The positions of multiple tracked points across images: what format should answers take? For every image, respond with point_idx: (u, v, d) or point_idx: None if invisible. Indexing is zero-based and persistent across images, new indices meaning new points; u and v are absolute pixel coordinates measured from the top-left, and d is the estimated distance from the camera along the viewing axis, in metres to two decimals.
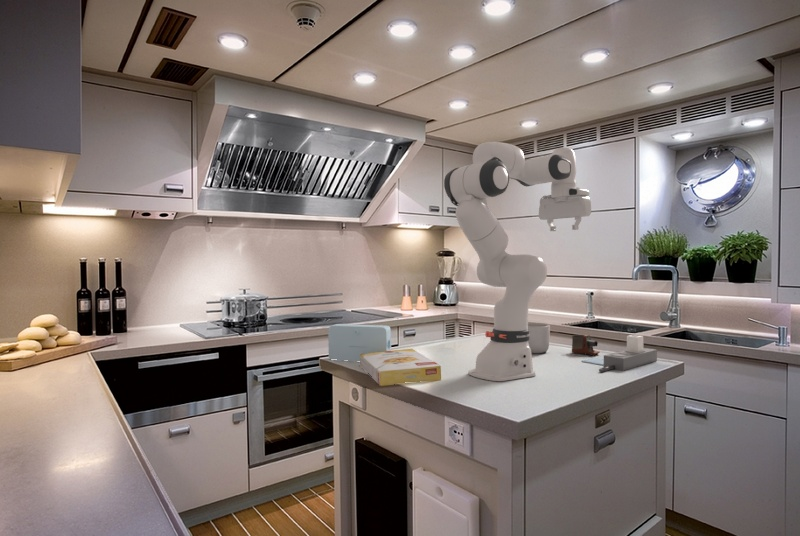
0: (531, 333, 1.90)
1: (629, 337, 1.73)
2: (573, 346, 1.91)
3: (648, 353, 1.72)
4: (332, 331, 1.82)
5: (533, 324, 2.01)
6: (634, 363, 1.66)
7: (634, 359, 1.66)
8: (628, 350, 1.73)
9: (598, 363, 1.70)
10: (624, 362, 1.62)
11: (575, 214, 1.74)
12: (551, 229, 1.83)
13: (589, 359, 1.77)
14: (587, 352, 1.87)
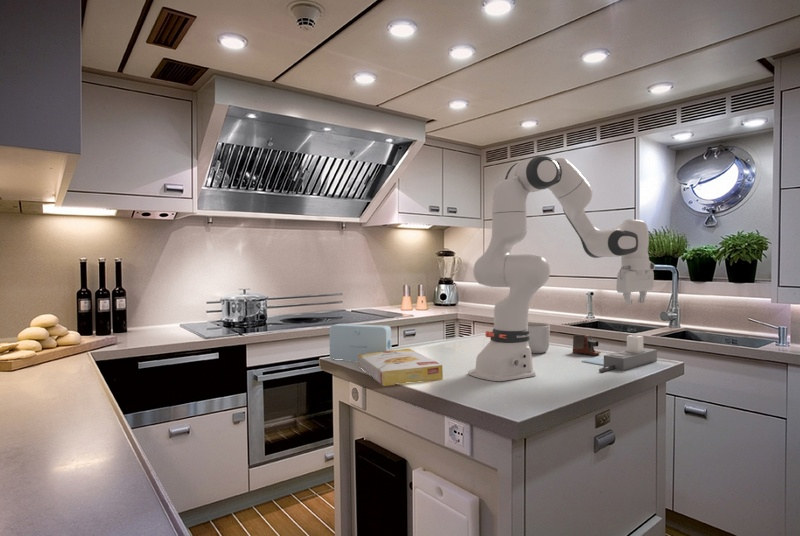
0: (531, 333, 1.90)
1: (629, 337, 1.73)
2: (574, 346, 1.91)
3: (648, 353, 1.72)
4: (333, 330, 1.83)
5: (533, 324, 2.01)
6: (634, 363, 1.66)
7: (634, 359, 1.66)
8: (628, 350, 1.73)
9: (598, 363, 1.70)
10: (624, 362, 1.62)
11: (648, 288, 1.75)
12: (631, 303, 1.69)
13: (589, 359, 1.77)
14: (588, 352, 1.86)
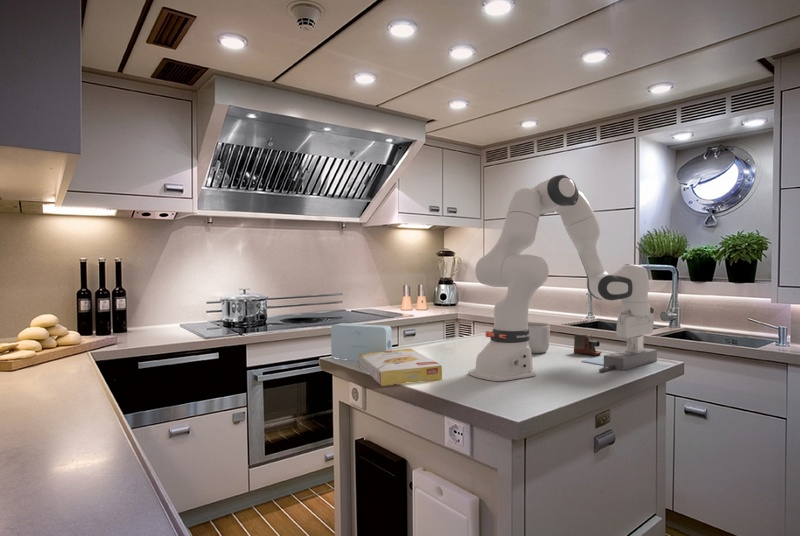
0: (531, 333, 1.90)
1: None
2: (575, 346, 1.91)
3: (648, 353, 1.72)
4: (335, 330, 1.84)
5: (533, 324, 2.01)
6: (634, 363, 1.66)
7: (634, 359, 1.66)
8: (628, 350, 1.73)
9: (598, 363, 1.70)
10: (624, 362, 1.62)
11: (648, 332, 1.75)
12: (633, 347, 1.71)
13: (589, 359, 1.77)
14: (589, 352, 1.86)
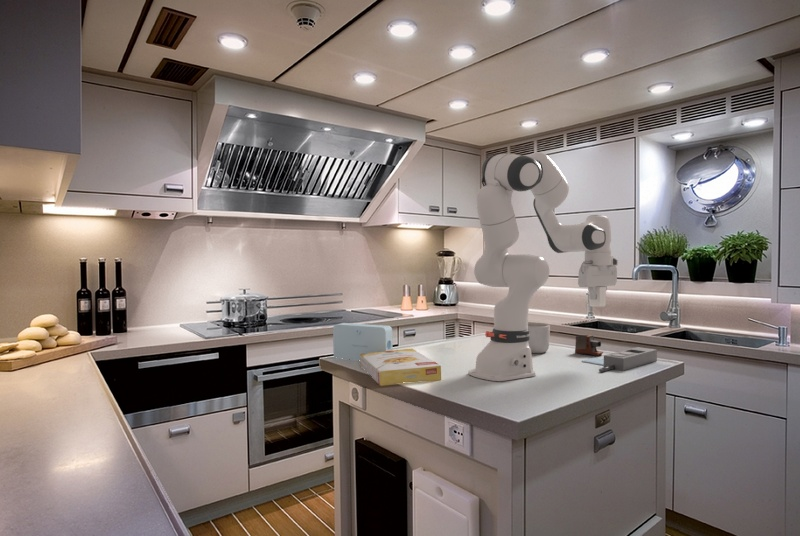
0: (531, 333, 1.90)
1: None
2: (576, 346, 1.90)
3: (648, 353, 1.72)
4: (337, 330, 1.85)
5: (533, 324, 2.01)
6: (634, 363, 1.66)
7: (634, 359, 1.66)
8: (590, 301, 1.74)
9: (598, 363, 1.70)
10: (624, 362, 1.62)
11: (611, 283, 1.76)
12: (595, 297, 1.72)
13: (589, 359, 1.77)
14: (590, 352, 1.86)
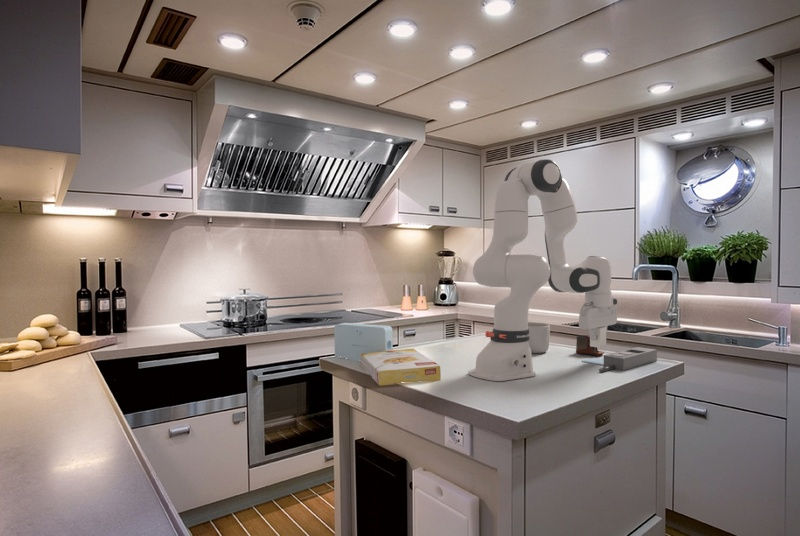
0: (531, 333, 1.90)
1: None
2: (577, 346, 1.90)
3: (648, 353, 1.72)
4: (338, 329, 1.86)
5: (533, 324, 2.01)
6: (634, 363, 1.66)
7: (634, 359, 1.66)
8: (591, 341, 1.75)
9: (598, 363, 1.70)
10: (624, 362, 1.62)
11: (611, 323, 1.77)
12: (596, 338, 1.72)
13: (589, 359, 1.77)
14: (591, 353, 1.85)
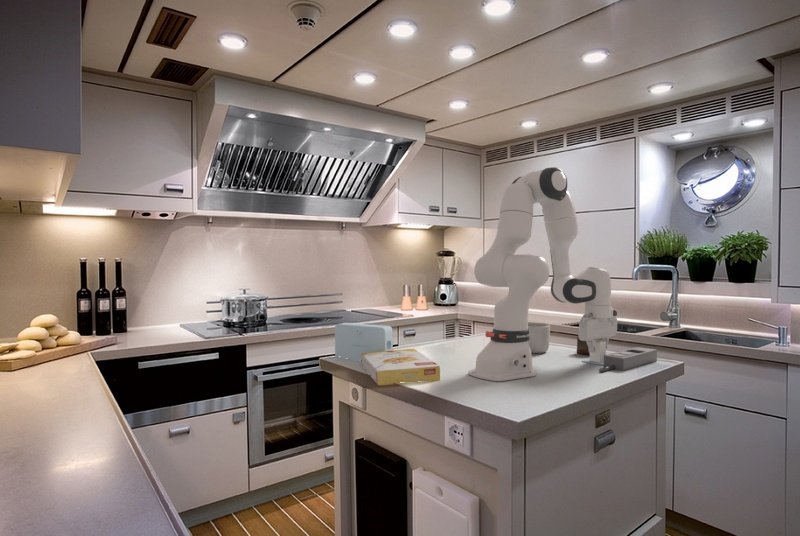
0: (531, 333, 1.90)
1: None
2: (578, 347, 1.90)
3: (648, 353, 1.72)
4: (338, 329, 1.86)
5: (533, 324, 2.01)
6: (634, 363, 1.66)
7: (634, 359, 1.66)
8: (591, 355, 1.75)
9: (598, 363, 1.70)
10: (624, 362, 1.62)
11: (611, 334, 1.77)
12: (594, 350, 1.71)
13: (589, 359, 1.77)
14: None
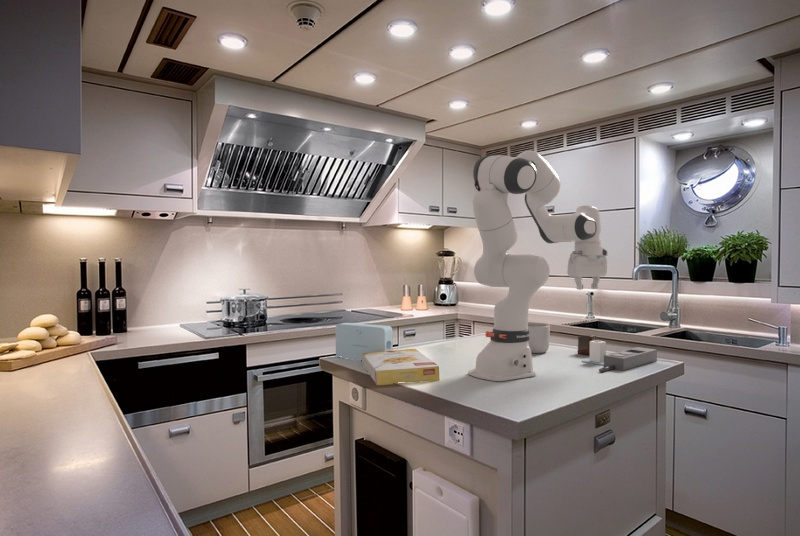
0: (531, 333, 1.90)
1: (592, 342, 1.74)
2: (579, 347, 1.89)
3: (648, 353, 1.72)
4: (339, 329, 1.86)
5: (533, 324, 2.01)
6: (634, 363, 1.66)
7: (634, 359, 1.66)
8: (591, 355, 1.75)
9: (598, 363, 1.70)
10: (624, 362, 1.62)
11: (600, 274, 1.78)
12: (582, 287, 1.73)
13: (589, 359, 1.77)
14: None
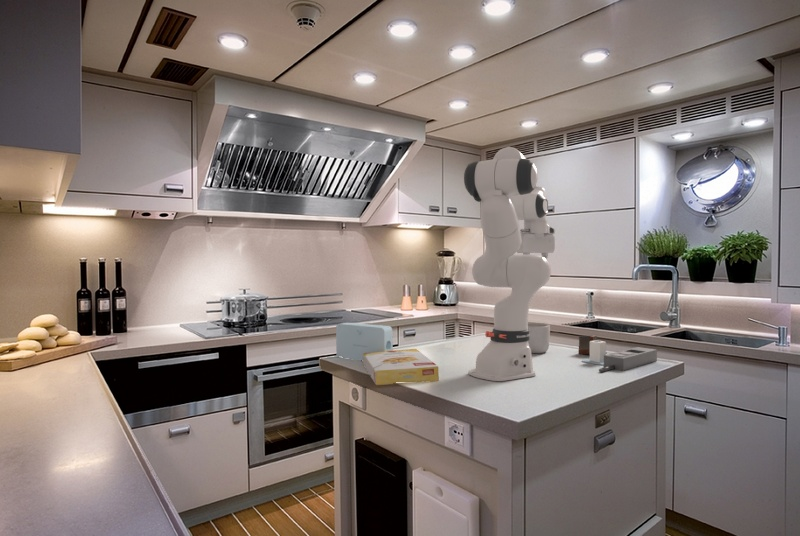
0: (531, 333, 1.90)
1: (592, 342, 1.74)
2: (580, 347, 1.89)
3: (648, 353, 1.72)
4: (339, 329, 1.87)
5: (533, 324, 2.01)
6: (634, 363, 1.66)
7: (634, 359, 1.66)
8: (591, 355, 1.75)
9: (598, 363, 1.70)
10: (624, 362, 1.62)
11: (548, 250, 1.91)
12: None
13: (589, 359, 1.77)
14: None
